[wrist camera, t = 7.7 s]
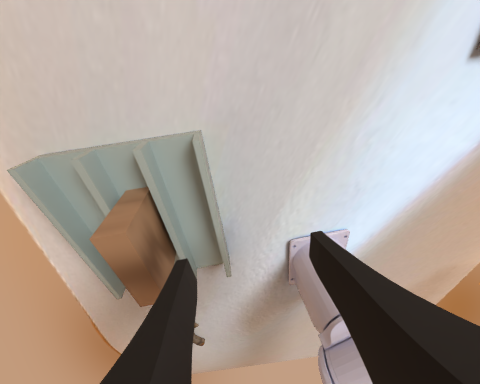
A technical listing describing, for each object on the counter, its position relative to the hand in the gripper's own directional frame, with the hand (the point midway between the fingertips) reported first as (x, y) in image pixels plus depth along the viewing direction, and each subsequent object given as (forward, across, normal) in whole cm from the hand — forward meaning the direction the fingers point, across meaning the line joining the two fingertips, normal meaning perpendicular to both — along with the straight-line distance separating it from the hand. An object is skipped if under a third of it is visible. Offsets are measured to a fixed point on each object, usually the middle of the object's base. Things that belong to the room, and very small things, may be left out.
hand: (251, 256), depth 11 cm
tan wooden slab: (+8, +9, +2) cm, 12 cm away
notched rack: (+9, +9, +2) cm, 13 cm away
